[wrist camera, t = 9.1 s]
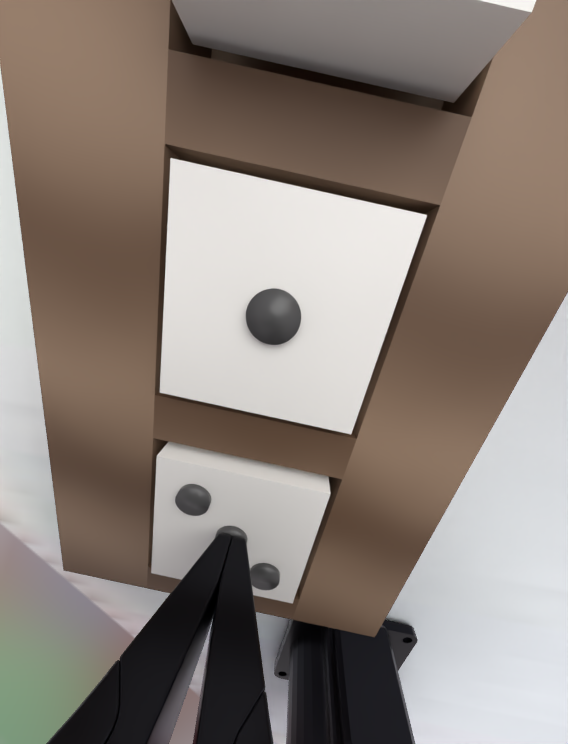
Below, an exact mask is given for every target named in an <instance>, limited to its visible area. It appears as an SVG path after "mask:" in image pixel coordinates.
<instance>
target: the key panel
mask: <svg viewBox="0 0 568 744" xmlns="http://www.w3.org/2000/svg"><path fill="white" fill-rule="evenodd" d="M0 66H1V74H2V82H3V90H4V98H5V106H6V114H7V122H8V130H9V138H10V146H11V154H12V162H13V170H14V178H15V186H16V194H17V202H18V210H19V218H20V226H21V234H22V242H23V250H24V258H25V265H26V273H27V281H28V289H29V297H30V305H31V313H32V321H33V329H34V337H35V345H36V353H37V361H38V369H39V377H40V385H41V393H42V401H43V409H44V417H45V425H46V433H47V441H48V449H49V457H50V465H51V473H52V481H53V489H54V497H55V505H56V513H57V521H58V529H59V537H60V545H61V553H62V561H63V569H64V570H65V571H69V572H74V573H79V574H83V575H88V576H93V577H97V578H102V579H106V580H111V581H116V582H120V583H125V584H130V585H134V586H139V587H144V588H148V589H153V590H158V591H162V592H167V593H171V592H172V591H173V590H174V589H175V587H176V586H177V585H178V584H179V582H180V581H181V579H176V578H172V577H167V576H162V575H158V574H153V573H151V566H152V545H153V523H154V502H155V481H156V459H157V455H158V454H159V453H160V451H161V450H162V449H163V448H164V447H165V445H166V444H167V443H168V442H173V443H178V444H183V445H187V446H192V447H196V448H201V449H205V450H210V451H215V452H219V453H224V454H228V455H233V456H238V457H242V458H247V459H251V460H256V461H261V462H265V463H270V464H274V465H279V466H284V467H288V468H293V469H297V470H302V471H306V472H311V473H316V474H320V475H325V476H328V477H329V485H330V493H331V494H330V497H329V500H328V503H327V506H326V509H325V511H324V514H323V517H322V520H321V523H320V526H319V529H318V532H317V535H316V537H315V540H314V543H313V546H312V549H311V552H310V555H309V558H308V561H307V563H306V566H305V569H304V572H303V575H302V578H301V581H300V584H299V587H298V589H297V592H296V595H295V598H294V601H293V604H292V603H288V602H283V601H278V600H274V599H269V598H264V597H260V596H255V595H253V597H254V605H255V612H260V613H264V614H269V615H274V616H278V617H283V618H288V619H292V620H297V621H302V622H306V623H311V624H316V625H320V626H325V627H329V628H334V629H339V630H343V631H348V632H353V633H357V634H362V635H367V636H371V637H375V636H376V634H377V633H378V631H379V629H380V627H381V625H382V624H383V622H384V620H385V618H386V616H387V615H388V613H389V611H390V609H391V607H392V606H393V604H394V602H395V600H396V599H397V597H398V595H399V593H400V591H401V590H402V588H403V586H404V584H405V582H406V581H407V579H408V577H409V575H410V573H411V572H412V570H413V568H414V566H415V565H416V563H417V561H418V559H419V557H420V556H421V554H422V552H423V550H424V548H425V547H426V545H427V543H428V541H429V539H430V538H431V536H432V534H433V532H434V531H435V529H436V527H437V525H438V523H439V522H440V520H441V518H442V516H443V514H444V513H445V511H446V509H447V507H448V505H449V504H450V502H451V500H452V498H453V497H454V495H455V493H456V491H457V489H458V488H459V486H460V484H461V482H462V480H463V479H464V477H465V475H466V473H467V472H468V470H469V468H470V466H471V464H472V463H473V461H474V459H475V457H476V455H477V454H478V452H479V450H480V448H481V446H482V445H483V443H484V441H485V439H486V438H487V436H488V434H489V432H490V430H491V429H492V427H493V425H494V423H495V421H496V420H497V418H498V416H499V414H500V412H501V411H502V409H503V407H504V405H505V404H506V402H507V400H508V398H509V396H510V395H511V393H512V391H513V389H514V387H515V386H516V384H517V382H518V380H519V378H520V377H521V375H522V373H523V371H524V370H525V368H526V366H527V364H528V362H529V361H530V359H531V357H532V355H533V353H534V352H535V350H536V348H537V346H538V344H539V343H540V341H541V339H542V337H543V336H544V334H545V332H546V330H547V328H548V327H549V325H550V323H551V321H552V319H553V318H554V316H555V314H556V312H557V310H558V309H559V307H560V305H561V303H562V302H563V300H564V298H565V296H566V294H567V293H568V0H536V2H535V5H534V8H533V10H532V13H531V14H530V15H529V16H528V17H527V18H526V20H525V21H524V22H523V23H522V24H521V25H520V27H519V28H518V29H517V30H516V31H515V32H514V34H513V35H512V36H511V37H510V38H509V39H508V41H507V42H506V43H505V44H504V45H503V46H502V47H501V49H500V50H499V51H498V52H497V53H496V54H495V56H494V57H493V58H492V59H491V60H490V61H489V63H488V64H487V65H486V66H485V67H484V68H483V70H482V71H481V72H480V73H479V74H478V75H477V77H476V78H475V79H474V80H473V81H472V82H471V84H470V85H469V86H468V87H467V88H466V89H465V90H464V92H463V93H462V94H461V95H460V96H459V97H458V99H457V100H456V101H455V102H454V103H452V102H448V101H443V100H439V99H434V98H430V97H425V96H421V95H416V94H412V93H408V92H403V91H399V90H394V89H390V88H385V87H381V86H376V85H372V84H367V83H363V82H359V81H354V80H350V79H345V78H341V77H336V76H332V75H327V74H323V73H318V72H314V71H310V70H305V69H301V68H296V67H292V66H287V65H283V64H278V63H274V62H269V61H265V60H261V59H256V58H252V57H247V56H243V55H238V54H234V53H229V52H225V51H220V50H216V49H212V48H207V47H203V46H198V45H194V44H192V42H191V40H190V38H189V36H188V33H187V31H186V29H185V27H184V25H183V23H182V21H181V19H180V17H179V14H178V12H177V10H176V8H175V6H174V4H173V2H172V0H0ZM171 158H173V159H178V160H182V161H187V162H191V163H196V164H200V165H205V166H209V167H214V168H218V169H223V170H227V171H232V172H236V173H241V174H245V175H250V176H254V177H258V178H263V179H267V180H272V181H276V182H281V183H285V184H290V185H294V186H299V187H303V188H308V189H312V190H317V191H321V192H326V193H330V194H335V195H339V196H344V197H348V198H353V199H357V200H362V201H366V202H371V203H375V204H380V205H384V206H389V207H393V208H398V209H402V210H407V211H411V212H416V213H420V214H425V215H427V217H426V220H425V223H424V226H423V229H422V232H421V234H420V237H419V240H418V243H417V246H416V249H415V252H414V255H413V258H412V260H411V263H410V266H409V269H408V272H407V275H406V278H405V281H404V284H403V286H402V289H401V292H400V295H399V298H398V301H397V304H396V307H395V309H394V312H393V315H392V318H391V321H390V324H389V327H388V330H387V333H386V335H385V338H384V341H383V344H382V347H381V350H380V353H379V356H378V359H377V361H376V364H375V367H374V370H373V373H372V376H371V379H370V382H369V385H368V387H367V390H366V393H365V396H364V399H363V402H362V405H361V408H360V410H359V413H358V416H357V419H356V422H355V425H354V428H353V431H352V434H347V433H342V432H338V431H333V430H329V429H324V428H320V427H315V426H310V425H306V424H301V423H297V422H292V421H288V420H283V419H278V418H274V417H269V416H265V415H260V414H256V413H251V412H246V411H242V410H237V409H233V408H228V407H224V406H219V405H214V404H210V403H205V402H201V401H196V400H192V399H187V398H182V397H178V396H173V395H169V394H164V393H160V374H161V353H162V331H163V310H164V288H165V267H166V245H167V224H168V203H169V181H170V160H171Z"/></svg>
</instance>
